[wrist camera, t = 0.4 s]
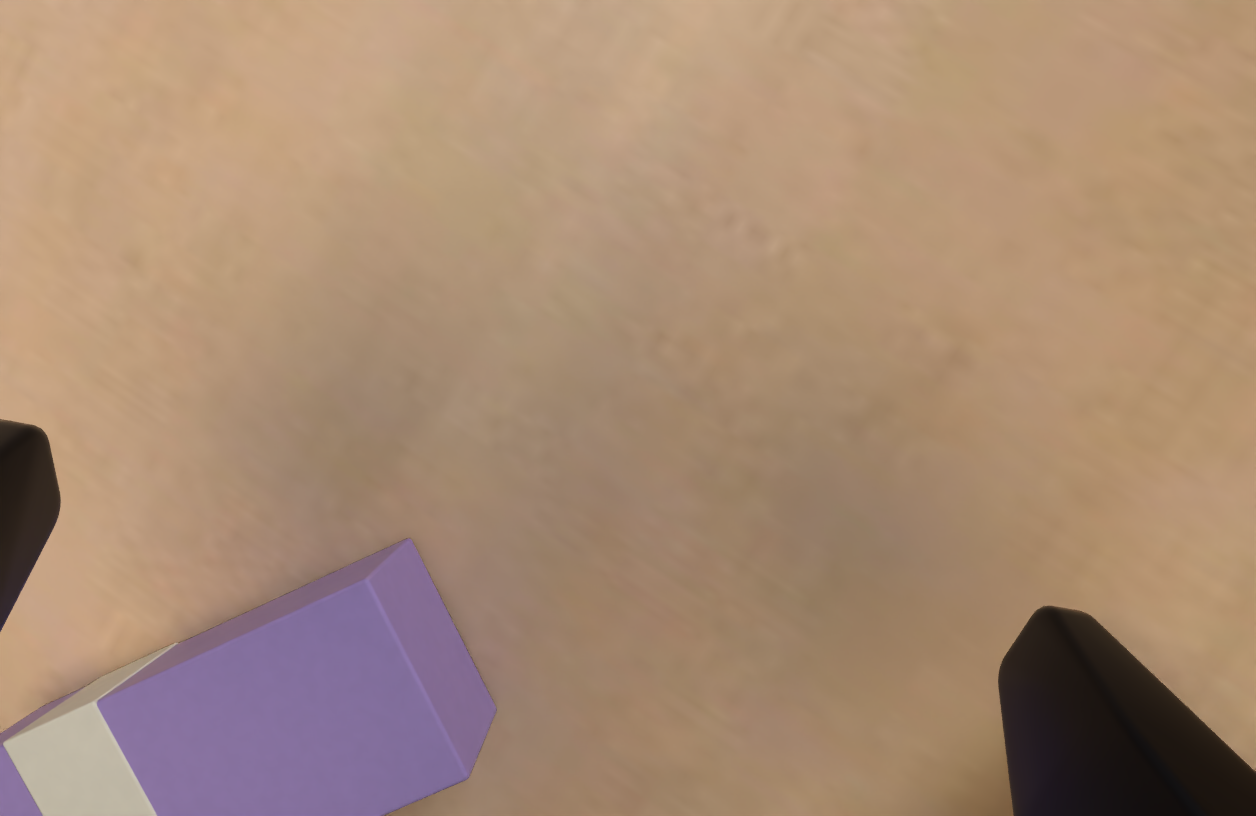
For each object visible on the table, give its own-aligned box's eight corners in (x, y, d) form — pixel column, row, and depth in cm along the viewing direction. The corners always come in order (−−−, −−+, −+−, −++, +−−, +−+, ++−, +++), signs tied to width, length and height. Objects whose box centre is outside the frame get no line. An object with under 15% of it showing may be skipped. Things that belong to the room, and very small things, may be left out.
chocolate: (499, 710, 24) (470, 783, 20) (132, 871, 25) (43, 967, 21) (411, 533, 24) (365, 576, 20) (40, 704, 25) (-68, 774, 21)
